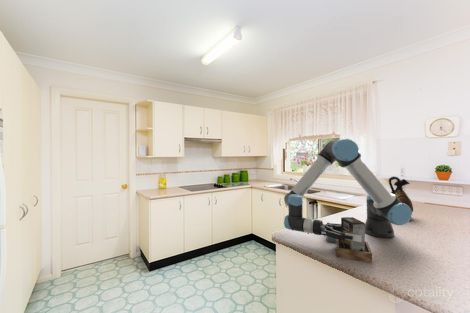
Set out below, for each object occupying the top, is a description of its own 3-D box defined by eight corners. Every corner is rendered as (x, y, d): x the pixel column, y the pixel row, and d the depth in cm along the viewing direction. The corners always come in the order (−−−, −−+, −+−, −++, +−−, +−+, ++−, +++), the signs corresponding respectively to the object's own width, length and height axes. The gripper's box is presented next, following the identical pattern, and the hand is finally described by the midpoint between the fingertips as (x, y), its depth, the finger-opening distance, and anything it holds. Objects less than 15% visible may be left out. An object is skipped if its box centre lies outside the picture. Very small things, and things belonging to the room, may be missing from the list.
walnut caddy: (367, 249, 106) (367, 241, 106) (372, 262, 94) (372, 253, 93) (336, 245, 112) (336, 237, 112) (336, 257, 99) (336, 248, 99)
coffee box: (340, 249, 107) (340, 217, 107) (353, 248, 108) (352, 216, 107) (352, 258, 98) (351, 223, 98) (365, 257, 99) (365, 222, 98)
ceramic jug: (411, 216, 160) (411, 176, 160) (414, 222, 147) (414, 178, 147) (383, 213, 169) (383, 175, 169) (384, 218, 156) (384, 177, 156)
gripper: (319, 227, 122) (364, 235, 110) (307, 241, 103) (360, 252, 91) (319, 214, 122) (364, 220, 110) (307, 225, 103) (360, 234, 91)
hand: (362, 234), depth 100 cm, fingers closed on coffee box, 10 cm apart
